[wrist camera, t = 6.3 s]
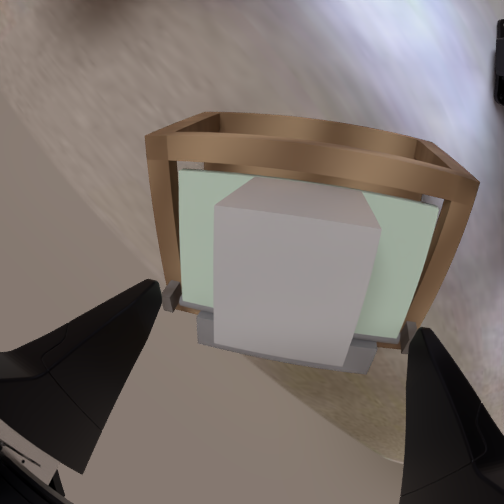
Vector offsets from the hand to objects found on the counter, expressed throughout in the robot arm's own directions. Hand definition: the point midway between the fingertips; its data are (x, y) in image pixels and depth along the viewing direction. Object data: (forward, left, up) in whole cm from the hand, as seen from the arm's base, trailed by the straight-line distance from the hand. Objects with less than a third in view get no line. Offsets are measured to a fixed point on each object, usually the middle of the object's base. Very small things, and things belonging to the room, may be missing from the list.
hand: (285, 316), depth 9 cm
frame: (0, +1, -12) cm, 13 cm away
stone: (0, 0, -5) cm, 5 cm away
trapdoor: (0, +3, -5) cm, 6 cm away
